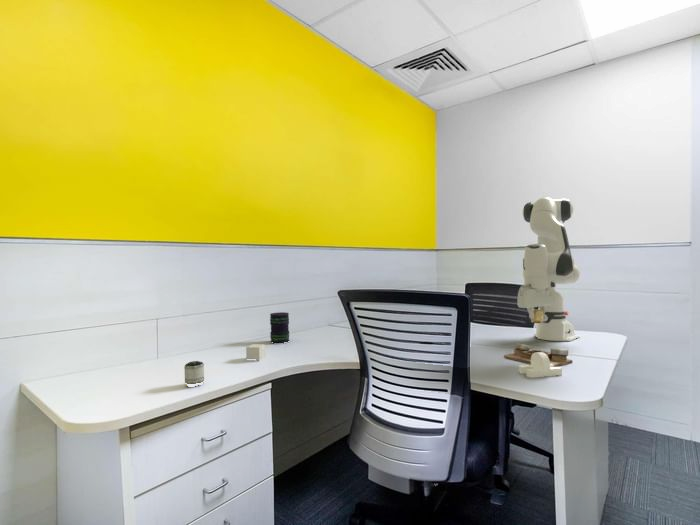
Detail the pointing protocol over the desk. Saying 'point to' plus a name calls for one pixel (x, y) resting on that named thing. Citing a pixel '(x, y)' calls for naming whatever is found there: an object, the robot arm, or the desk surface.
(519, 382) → the desk surface
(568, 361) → the bench
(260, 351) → the cream cube
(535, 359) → the slotted bracket
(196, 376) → the camera lens
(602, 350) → the desk surface
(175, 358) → the desk surface
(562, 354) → the angled shaft stand
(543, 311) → the robot arm
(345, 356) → the desk surface
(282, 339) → the storage jar
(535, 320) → the coupler
